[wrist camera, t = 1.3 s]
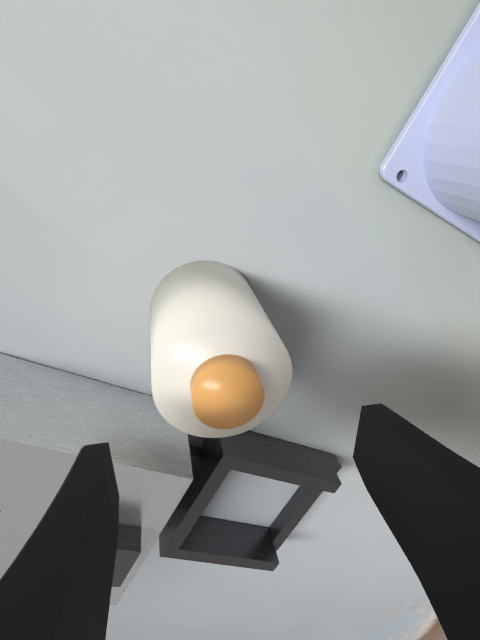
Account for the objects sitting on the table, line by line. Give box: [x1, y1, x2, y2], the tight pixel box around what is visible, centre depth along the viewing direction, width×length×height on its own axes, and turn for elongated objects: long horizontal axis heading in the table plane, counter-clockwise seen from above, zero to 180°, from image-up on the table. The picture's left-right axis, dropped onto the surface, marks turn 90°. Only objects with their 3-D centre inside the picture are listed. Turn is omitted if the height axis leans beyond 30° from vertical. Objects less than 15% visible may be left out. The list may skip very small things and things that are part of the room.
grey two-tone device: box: [0, 353, 342, 605], centre depth 20 cm, size 22×9×6 cm, turn 62°
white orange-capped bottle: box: [150, 261, 292, 438], centre depth 16 cm, size 5×5×7 cm
